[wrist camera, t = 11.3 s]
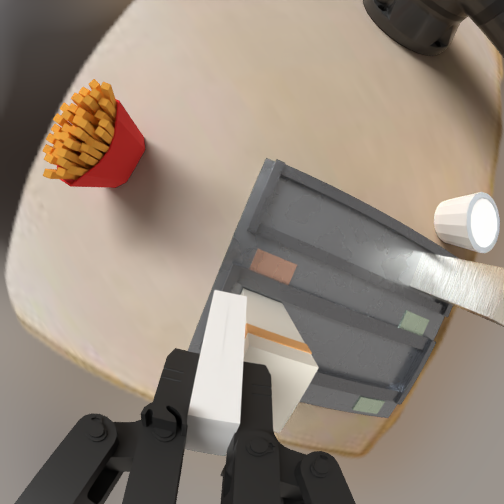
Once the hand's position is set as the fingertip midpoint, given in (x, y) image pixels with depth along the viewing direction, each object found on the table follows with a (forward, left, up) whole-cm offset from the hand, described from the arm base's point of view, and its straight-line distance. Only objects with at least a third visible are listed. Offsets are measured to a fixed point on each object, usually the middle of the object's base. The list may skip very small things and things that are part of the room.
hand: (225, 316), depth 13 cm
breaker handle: (+4, +4, -13) cm, 14 cm away
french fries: (-6, -16, -17) cm, 24 cm away
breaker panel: (0, +12, -16) cm, 21 cm away
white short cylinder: (-15, +23, -17) cm, 33 cm away
